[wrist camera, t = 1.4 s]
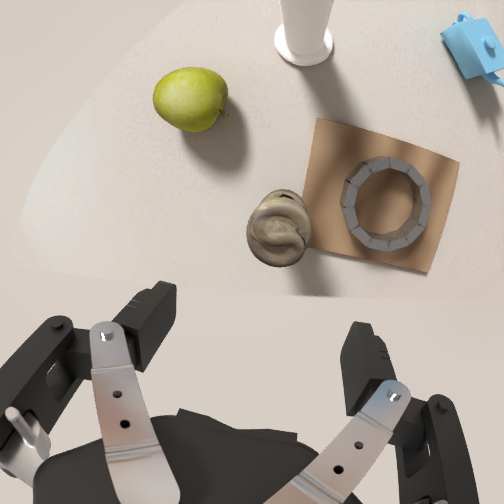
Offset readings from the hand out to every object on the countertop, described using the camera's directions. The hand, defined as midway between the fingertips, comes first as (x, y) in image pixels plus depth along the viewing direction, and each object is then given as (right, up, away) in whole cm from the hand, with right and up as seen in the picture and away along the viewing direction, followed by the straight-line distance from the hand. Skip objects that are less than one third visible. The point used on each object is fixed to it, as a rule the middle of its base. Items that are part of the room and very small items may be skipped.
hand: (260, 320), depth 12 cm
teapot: (+29, +30, +11) cm, 43 cm away
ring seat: (+16, +10, +21) cm, 28 cm away
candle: (+6, +29, +15) cm, 33 cm away
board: (+16, +10, +21) cm, 28 cm away
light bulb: (+4, +9, +24) cm, 26 cm away
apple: (-6, +22, +20) cm, 30 cm away
